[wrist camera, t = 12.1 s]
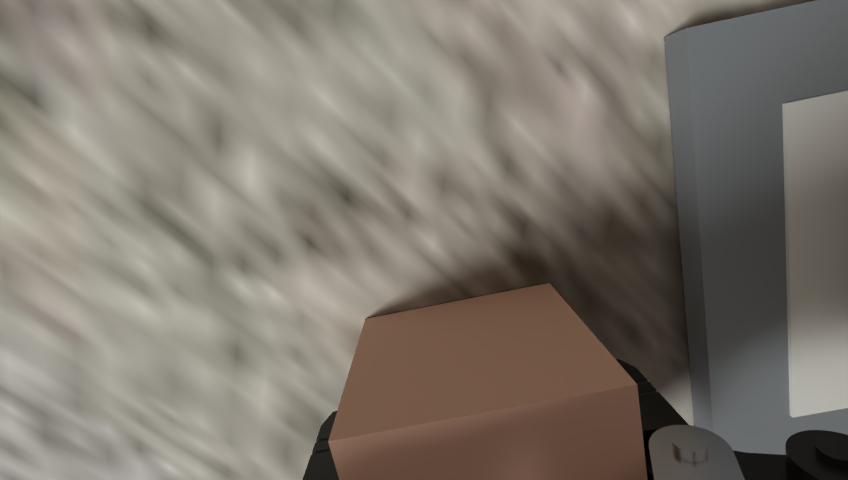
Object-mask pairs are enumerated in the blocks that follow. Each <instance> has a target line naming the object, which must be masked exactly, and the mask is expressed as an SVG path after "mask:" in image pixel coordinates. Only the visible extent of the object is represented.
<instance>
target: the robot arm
mask: <svg viewBox="0 0 848 480" xmlns="http://www.w3.org/2000/svg"><path fill="white" fill-rule="evenodd" d="M616 360H617V362H618V363H619V364H620V365H621V366H622V367H623V369H624V370H625V371H626V372H627V373H628V374H629V376H630V377H631V378H632V379H633V380H634V381H635V382H636V384H637V387H638V396H639V405H640V415H641V424H642V433H643V442H644V451H645V461H646V470H647V479H648V480H848V435H846V434H843V433H838V432H833V431H826V430H807V431H801V432H798V433H795V434H793V435H791V436H790V437H789V438H788V439H787V441H786V445H785V451H786V455H779V454H762V453H747V452H739V451H734V450H732V448H731V446H730V445H729V444H728V443H727V442H726V441H725V440H724V439H723V438H722V437H720V436H719V435H717V434H715V433H713V432H711V431H709V430H706V429H704V428H700V427H696V426H691V425H688V424H687V422H686V421H685V420H684V419H683V418H682V417H681V416H680V415H679V414H678V413H677V412H676V411H675V409H674V408H673V407H672V406H671V405H670V404H669V403H668V402H667V401H666V400H665V399H664V398H663V396H662V395H661V394H660V393H659V392H657V391H656V389H655V388H654V387H653V386H652V385H651V383H650V382H647V379H646V378H645V377H644V376H643V375H642V374H641V373H640V372H639V370H638V369H637V368H636V367H634V366H632V365H630V364H628V363H625V362H623V361H621V360H619V359H616ZM336 414H337V411H335V412H333V413H332V414H331V415H330V416H329V417H328V418H327V420H326V421H325V422H324V423H323V424H322V425H321V428H320V431H319V434H318V437H317V440H316V441H317V443H315V445H314V448H313V451H312V455H311V457H310V460H309V463H308V466H307V469H306V471H305V474H304V477H303V480H339V477H338V474H337V470H336V467H335V464H334V460H333V457H332V453H331V450H330V446H329V443H328V440H329V437H330V434H331V430H332V427H333V424H334V420H335V417H336Z"/></svg>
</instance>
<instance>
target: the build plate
mask: <svg viewBox="0 0 848 480" xmlns="http://www.w3.org/2000/svg"><path fill="white" fill-rule="evenodd" d="M664 42H665V55H666V68H667V81H668V93H669V106H670V119H671V132H672V145H673V157H674V170H675V183H676V196H677V209H678V221H679V234H680V247H681V260H682V272H683V285H684V298H685V311H686V324H687V336H688V349H689V362H690V375H691V388H692V400H693V413H694V426H696V427H700V428H704V429H706V430H709V431H711V432H713V433H715V434H717V435H719V436H720V437H722V438H723V439H724V440H725V441H726V442H727V443H728V444H729V445H730V446H731V448H732V450H734V451H739V452H747V453H762V454H779V455H786V451H785V445H786V441H787V439H788V438H789V437H790V436H791V435H793V434H795V433H798V432H801V431H807V430H826V431H833V432H838V433H843V434H846V435H848V0H815V1H810V2H806V3H801V4H796V5H792V6H787V7H782V8H778V9H773V10H768V11H764V12H759V13H754V14H750V15H745V16H740V17H736V18H731V19H726V20H722V21H717V22H712V23H708V24H703V25H698V26H694V27H689V28H685V29H683V30H680V31H678V32H675V33H673V34H670V35H668V36H665V37H664Z"/></svg>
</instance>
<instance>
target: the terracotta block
mask: <svg viewBox="0 0 848 480" xmlns="http://www.w3.org/2000/svg"><path fill="white" fill-rule="evenodd" d="M328 443H329V446H330V450H331V453H332V457H333V460H334V464H335V467H336V470H337V474H338V477H339V480H648V479H647V470H646V461H645V451H644V442H643V433H642V424H641V415H640V405H639V396H638V387H637V384H636V382H635V381H634V380H633V379H632V378H631V377H630V376H629V374H628V373H627V372H626V371H625V370H624V369H623V367H622V366H621V365H620V364H619V363H618V362H617V360H616V359H615V358H614V357H613V356H612V355H611V354H610V352H609V351H608V350H607V349H606V348H605V347H604V345H603V344H602V343H601V342H600V341H599V340H598V339H597V337H596V336H595V335H594V334H593V333H592V332H591V330H590V329H589V328H588V327H587V326H586V325H585V323H584V322H583V321H582V320H581V319H580V318H579V317H578V315H577V314H576V313H575V312H574V311H573V310H572V308H571V307H570V306H569V305H568V304H567V303H566V302H565V300H564V299H563V298H562V297H561V296H560V295H559V293H558V292H557V291H556V290H555V289H554V288H553V286H552V285H551V284H550V283H546V284H541V285H536V286H531V287H526V288H521V289H515V290H510V291H505V292H500V293H495V294H490V295H485V296H480V297H474V298H469V299H464V300H459V301H454V302H449V303H444V304H439V305H433V306H428V307H423V308H418V309H413V310H408V311H403V312H398V313H392V314H387V315H382V316H377V317H372V318H367V319H365V322H364V325H363V328H362V332H361V335H360V338H359V341H358V345H357V348H356V351H355V355H354V358H353V361H352V364H351V368H350V371H349V374H348V378H347V381H346V384H345V388H344V391H343V394H342V397H341V401H340V404H339V407H338V411H337V414H336V417H335V420H334V424H333V427H332V430H331V434H330V437H329V440H328Z"/></svg>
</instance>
